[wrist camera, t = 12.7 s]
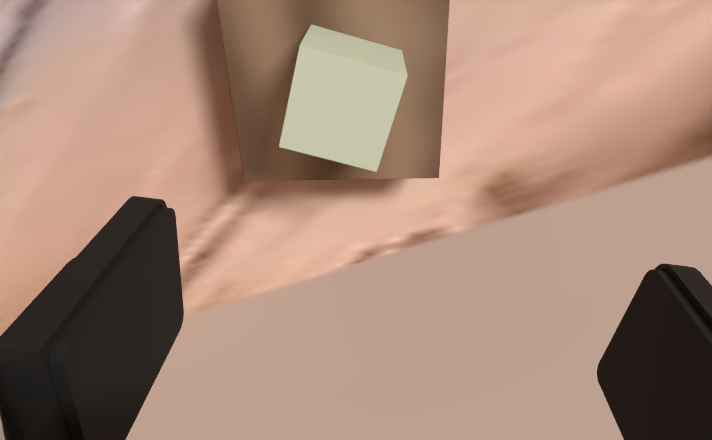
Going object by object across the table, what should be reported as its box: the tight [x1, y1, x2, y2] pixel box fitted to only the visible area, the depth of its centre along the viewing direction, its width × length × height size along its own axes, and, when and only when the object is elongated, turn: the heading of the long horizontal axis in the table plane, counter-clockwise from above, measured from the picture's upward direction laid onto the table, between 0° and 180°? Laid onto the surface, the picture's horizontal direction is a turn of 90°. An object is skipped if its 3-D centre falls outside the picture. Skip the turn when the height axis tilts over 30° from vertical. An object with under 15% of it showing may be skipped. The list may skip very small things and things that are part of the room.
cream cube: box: [279, 24, 408, 172], centre depth 26 cm, size 5×5×5 cm
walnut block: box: [216, 0, 449, 181], centre depth 30 cm, size 12×12×5 cm
